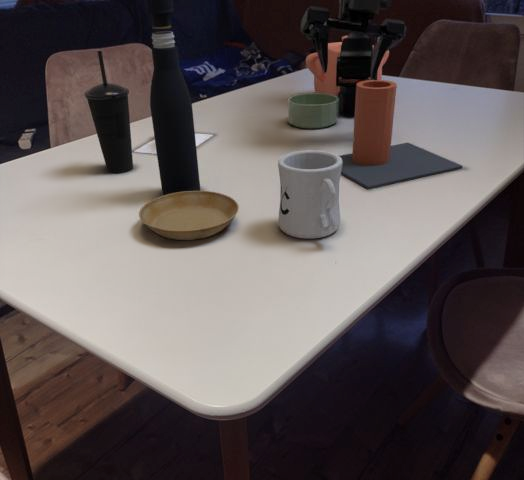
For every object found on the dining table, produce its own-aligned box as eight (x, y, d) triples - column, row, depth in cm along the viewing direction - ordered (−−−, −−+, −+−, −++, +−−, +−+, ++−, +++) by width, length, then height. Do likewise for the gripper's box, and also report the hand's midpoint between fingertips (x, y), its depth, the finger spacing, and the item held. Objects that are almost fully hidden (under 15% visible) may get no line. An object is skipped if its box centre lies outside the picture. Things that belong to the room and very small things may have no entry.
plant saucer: (259, 223, 88) (259, 207, 86) (182, 257, 80) (180, 239, 78) (197, 199, 97) (196, 183, 95) (122, 227, 88) (119, 210, 87)
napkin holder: (182, 156, 115) (179, 126, 111) (132, 151, 118) (127, 122, 115) (214, 134, 126) (212, 106, 122) (167, 131, 129) (164, 103, 126)
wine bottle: (194, 201, 96) (171, -13, 78) (157, 200, 97) (126, -13, 79) (205, 187, 101) (185, -18, 83) (169, 186, 102) (143, -17, 84)
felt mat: (407, 144, 116) (407, 142, 116) (462, 168, 104) (462, 165, 104) (319, 162, 109) (319, 159, 109) (367, 189, 98) (368, 186, 97)
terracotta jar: (361, 151, 112) (366, 78, 104) (394, 156, 109) (402, 81, 101) (345, 162, 107) (349, 86, 100) (380, 167, 104) (387, 90, 97)
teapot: (295, 95, 152) (295, 35, 144) (372, 87, 157) (376, 28, 148) (324, 114, 136) (326, 48, 128) (408, 104, 141) (415, 39, 133)
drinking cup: (145, 161, 113) (127, 46, 101) (134, 175, 107) (114, 54, 95) (107, 161, 113) (85, 47, 102) (94, 175, 107) (69, 55, 96)
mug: (269, 221, 88) (267, 154, 83) (323, 210, 91) (325, 145, 85) (302, 255, 79) (302, 183, 73) (361, 243, 81) (367, 172, 76)
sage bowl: (321, 113, 137) (322, 90, 134) (346, 124, 129) (348, 100, 126) (279, 120, 133) (279, 97, 130) (302, 132, 125) (303, 107, 122)
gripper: (318, -46, 97) (310, 52, 99) (423, -27, 101) (413, 67, 102) (303, -14, 108) (296, 74, 110) (398, 2, 112) (390, 87, 113)
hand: (348, 75), depth 109 cm, fingers open, 9 cm apart
